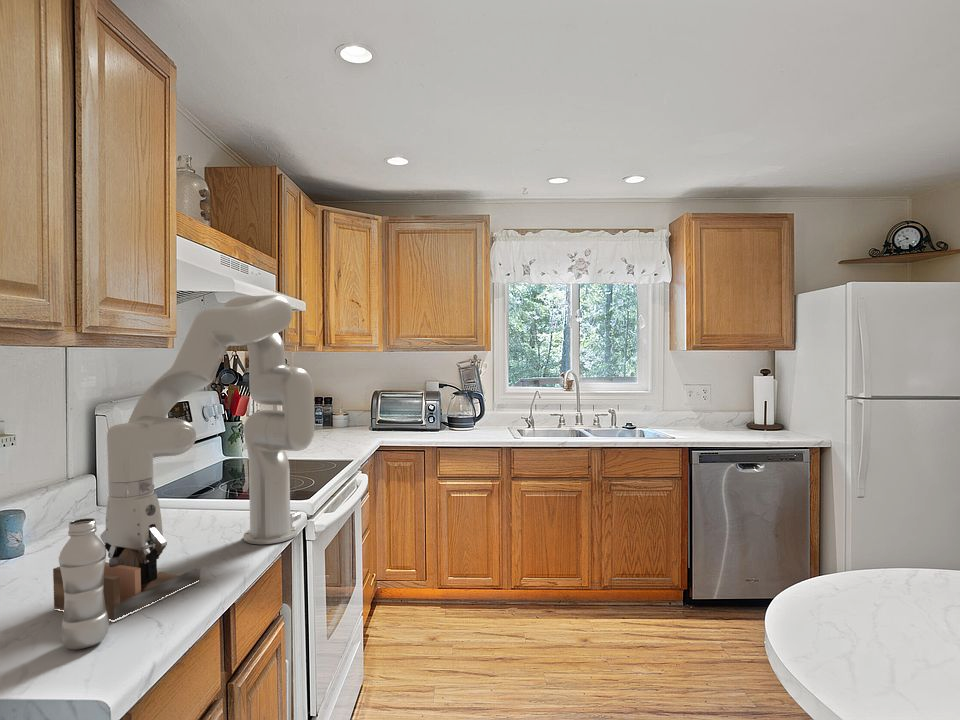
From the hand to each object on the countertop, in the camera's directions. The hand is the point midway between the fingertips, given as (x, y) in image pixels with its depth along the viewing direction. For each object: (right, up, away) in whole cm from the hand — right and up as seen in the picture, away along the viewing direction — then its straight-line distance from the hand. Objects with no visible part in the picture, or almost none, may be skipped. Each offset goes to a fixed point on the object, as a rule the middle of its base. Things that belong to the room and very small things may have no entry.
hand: (134, 578), depth 116 cm
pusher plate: (-1, -3, -3) cm, 5 cm away
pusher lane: (0, -3, -1) cm, 3 cm away
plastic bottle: (+3, -4, -20) cm, 20 cm away
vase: (0, -2, 0) cm, 2 cm away
